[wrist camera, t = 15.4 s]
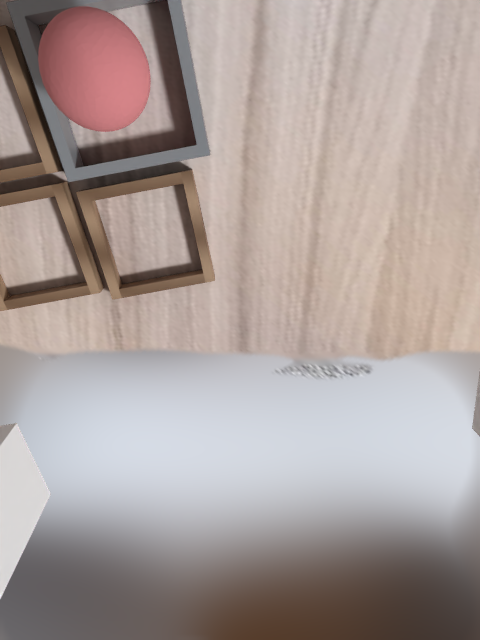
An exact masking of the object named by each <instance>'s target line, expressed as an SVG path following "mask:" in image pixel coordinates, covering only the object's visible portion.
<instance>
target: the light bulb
mask: <svg viewBox="0 0 480 640" xmlns="http://www.w3.org/2000/svg"><path fill="white" fill-rule="evenodd" d="M38 62H39V71H40V74H41V78H42V81H43V84H44V87H45V89H46V91H47V93H48V95H49V96H50V98H51V99H52V101H53V102H54V104H55V105H56V106H57V107H58V109H59V110H60V111H61V112H62V113H63V114H64V115H65V116H67V117H68V118H69V119H70V120H72V121H73V122H75V123H77V124H78V125H80V126H82V127H85V128H87V129H90V130H95V131H102V132H108V131H115V130H119V129H122V128H124V127H126V126H128V125H130V124H131V123H132V122H134V121H135V120H136V119H137V118H138V116H139V115H140V114H141V113H142V111H143V109H144V108H145V105H146V103H147V100H148V97H149V92H150V70H149V64H148V61H147V57H146V55H145V52H144V50H143V48H142V46H141V44H140V42H139V41H138V39H137V37H136V36H135V35H134V33H133V32H132V31H131V30H130V29H129V27H127V26H126V25H125V24H124V23H123V22H122V21H121V20H119V19H118V18H117V17H115V16H114V15H112V14H110V13H108V12H106V11H104V10H101V9H98V8H93V7H89V6H82V7H74V8H69V9H67V10H65V11H62V12H61V13H59V14H58V15H56V16H55V17H54V18H53V19H52V20H51V21H50V22H49V24H48V25H47V27H46V28H45V30H44V32H43V34H42V37H41V41H40V45H39V51H38Z"/></svg>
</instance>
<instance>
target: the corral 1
mask: <svg viewBox="0 0 480 640" xmlns="http://www.w3.org/2000/svg"><path fill="white" fill-rule="evenodd" d="M0 48H1V50H2V53H3V56H4V58H5V61H6V64H7V67H8V69H9V72H10V75H11V78H12V80H13V83H14V86H15V88H16V91H17V94H18V97H19V99H20V102H21V105H22V108H23V110H24V113H25V116H26V118H27V121H28V124H29V127H30V129H31V132H32V135H33V138H34V140H35V143H36V146H37V148H38V151H39V154H40V157H41V159H42V162H41V163H36V164H30V165H25V166H20V167H15V168H9V169H4V170H0V183H2V182H7V181H12V180H17V179H22V178H28V177H33V176H38V175H43V174H49V173H54V172H59V171H63V168H62V165H61V162H60V160H59V157H58V154H57V151H56V148H55V145H54V142H53V139H52V137H51V134H50V131H49V128H48V125H47V122H46V119H45V116H44V114H43V111H42V108H41V105H40V102H39V99H38V96H37V93H36V91H35V88H34V85H33V82H32V79H31V76H30V73H29V70H28V68H27V65H26V62H25V59H24V56H23V53H22V50H21V47H20V45H19V42H18V39H17V36H16V33H15V30H13V29H12V28H10V27H8V26H6V25H3V26H0Z"/></svg>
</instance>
